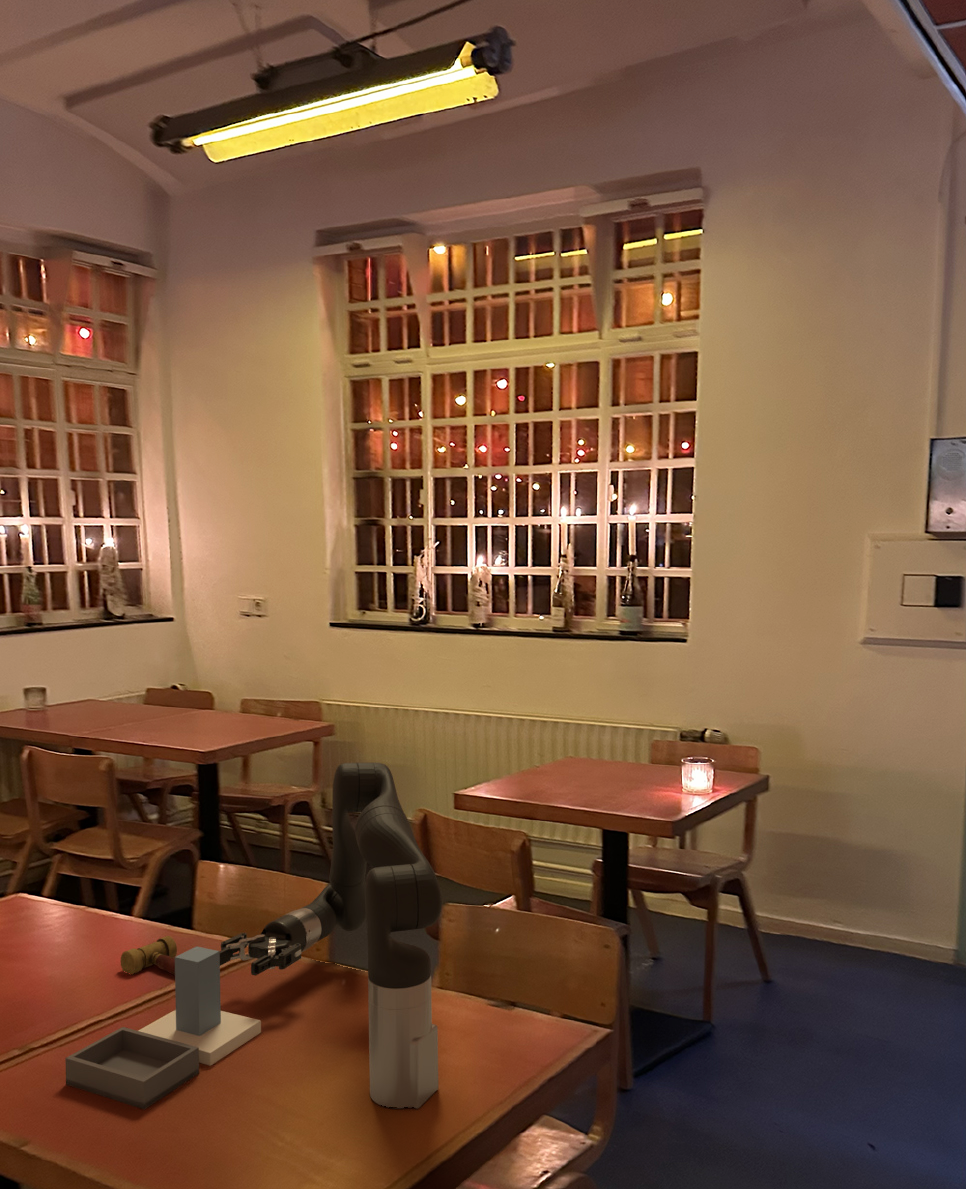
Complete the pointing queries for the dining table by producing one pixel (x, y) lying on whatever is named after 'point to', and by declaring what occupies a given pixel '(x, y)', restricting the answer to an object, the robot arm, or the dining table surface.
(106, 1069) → the tray
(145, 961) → the gavel
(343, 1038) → the dining table surface
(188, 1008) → the tile block
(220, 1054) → the bench board
